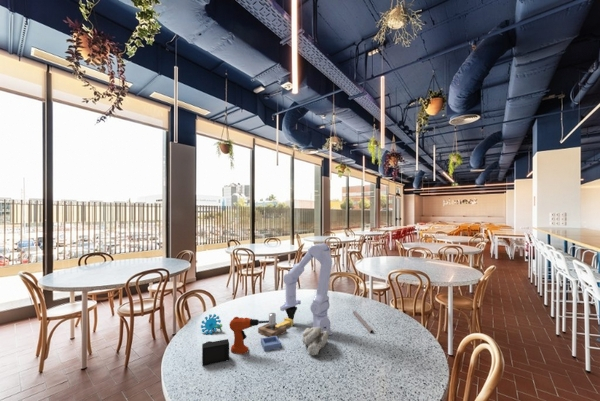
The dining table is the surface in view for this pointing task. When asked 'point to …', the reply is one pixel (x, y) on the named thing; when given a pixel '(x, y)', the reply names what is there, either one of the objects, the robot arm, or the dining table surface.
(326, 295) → the robot arm
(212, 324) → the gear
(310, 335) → the mineral
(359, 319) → the metal rod
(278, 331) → the socket
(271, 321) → the gray metallic cylinder
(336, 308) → the dining table surface
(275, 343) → the tray
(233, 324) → the toy drill
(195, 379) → the dining table surface
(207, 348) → the digital camera
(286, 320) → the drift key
